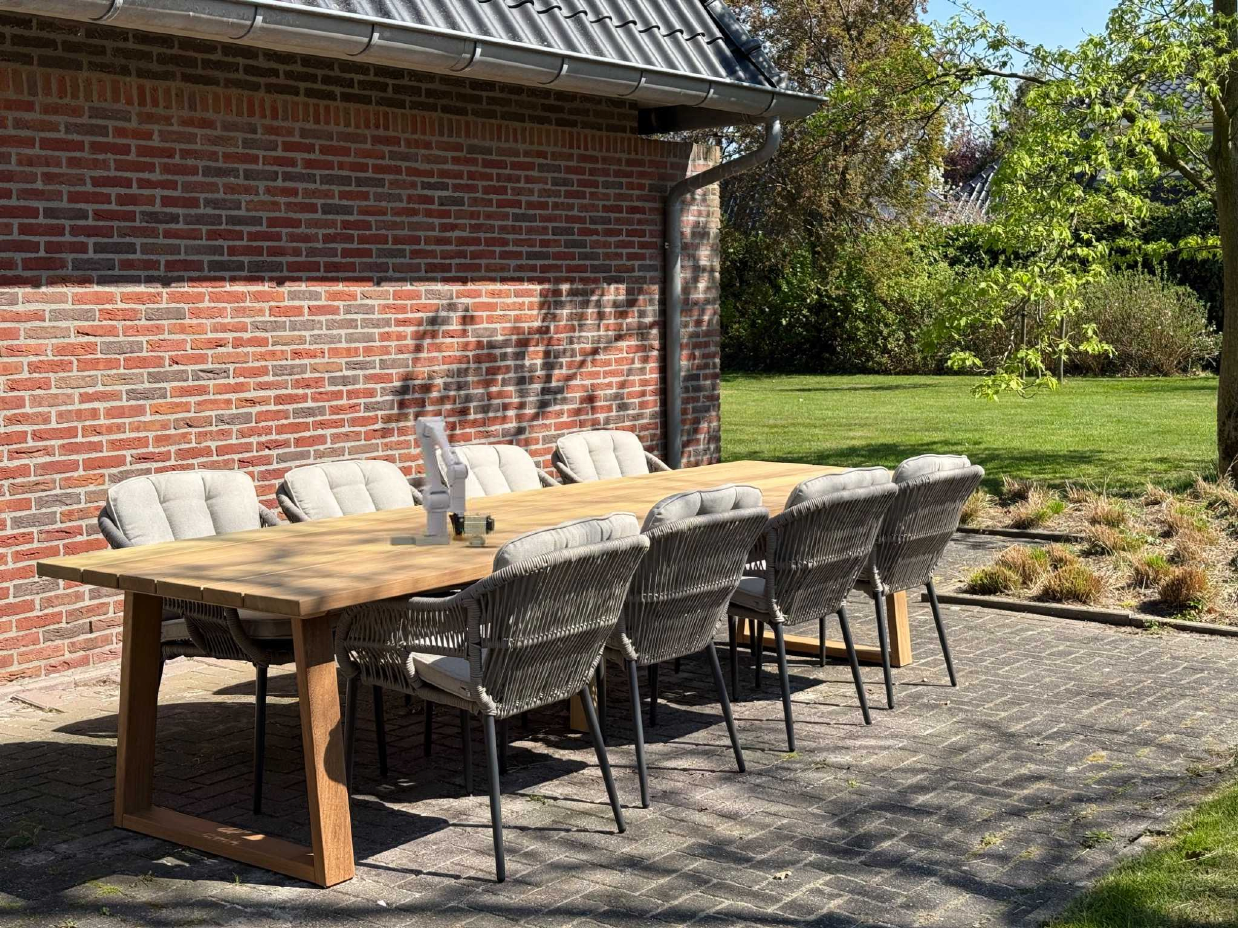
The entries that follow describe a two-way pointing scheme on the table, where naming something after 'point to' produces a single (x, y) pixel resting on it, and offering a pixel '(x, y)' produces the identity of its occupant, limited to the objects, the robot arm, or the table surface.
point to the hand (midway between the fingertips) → (457, 534)
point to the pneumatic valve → (476, 527)
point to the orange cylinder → (457, 536)
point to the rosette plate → (421, 539)
